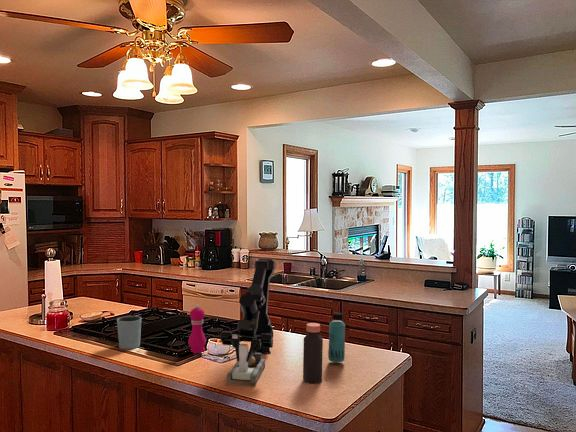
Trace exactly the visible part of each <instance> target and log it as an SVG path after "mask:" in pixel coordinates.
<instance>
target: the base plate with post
mask: <svg viewBox="0 0 576 432" xmlns="http://www.w3.org/2000/svg"><path fill="white" fill-rule="evenodd" d="M248 353H249V351H248ZM253 357H254V358H255V364H254V365H252V366H249V365H248V368H254V372H253V374H252V376H251V380H241V379H232V373H233V372H234V370H235V369H236V367H239V361H238V362H237V361H235V363H234V365H233V366H232V368H230V370H229V372H228V373H227V374H226V385H228V386H241V387H242V386H245V387H256V386H257V383H259V380H260V379H261V377H262V374H263V373H264V371H265V369H266V358H262V354H261V353H255V354H254V355H253Z"/></svg>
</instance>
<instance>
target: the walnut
mask: <svg viewBox="0 0 576 432" xmlns="http://www.w3.org/2000/svg"><path fill="white" fill-rule="evenodd" d="M254 364H255V358H254V357H253V356H252V358H251V359H250V361H249V362H248V365H249V366H252V365H254Z"/></svg>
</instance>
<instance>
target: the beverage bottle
mask: <svg viewBox="0 0 576 432" xmlns="http://www.w3.org/2000/svg"><path fill="white" fill-rule="evenodd" d="M331 319H332V321H330V323H329V324H328V325H329V328H328V329H329V330H328V350H327V351H328V352H327V357H328V361H330V362H332V363H342V362H344V361H345V359H346V358H345V353H346V350H345V349H346V339H345V338H346V337H345V336H346V324H345V322H344V321H342V320H343V319H344V317H343V313H342V312H338V311H335V312H332V318H331Z"/></svg>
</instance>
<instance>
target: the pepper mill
mask: <svg viewBox="0 0 576 432" xmlns="http://www.w3.org/2000/svg"><path fill="white" fill-rule="evenodd" d="M205 316H206V315H205V310H204V309H203V308H201V307H200V305H199V304H198V303H196V304H195V306H194V308H193V309H191V310H190V312H189V317H190V319H191V322H190V324H191V326H192V329H191V333H190V334H189V337H188V341H187V342H188V346H189V348H190V347H191V349H190V350H191V352H193V353H201V352H204V351H205V350H206V349H205V345H206V343H207V339H206V336H205V333H204V331H203V324H204V318H205ZM204 353H205V352H204Z"/></svg>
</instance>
